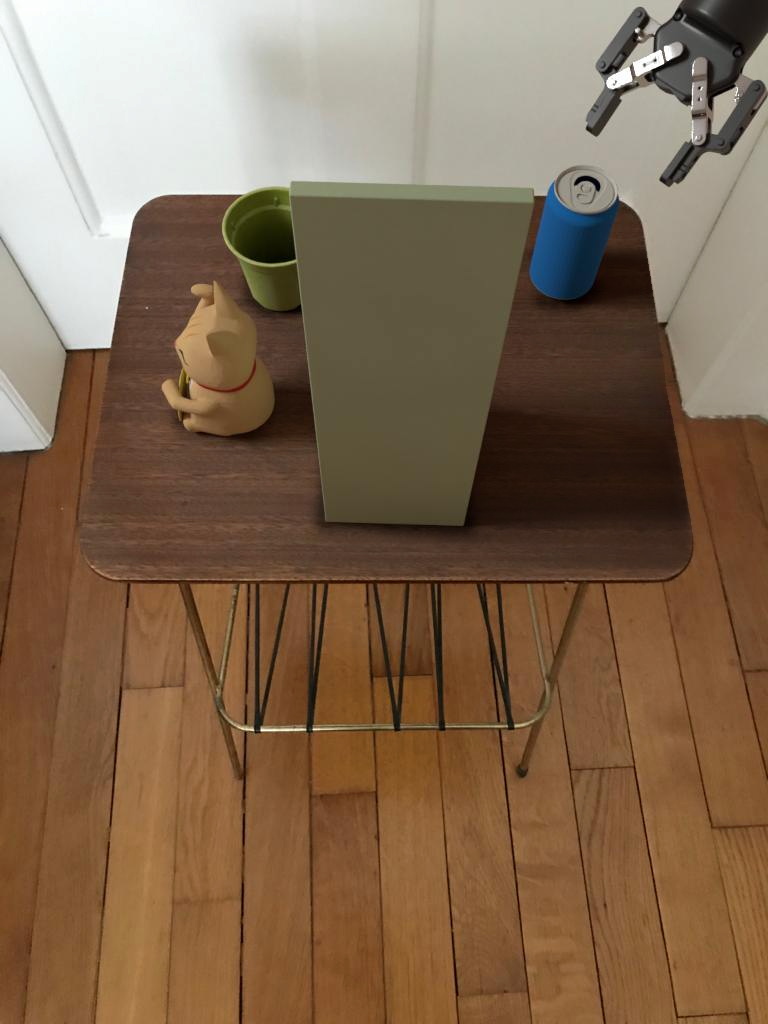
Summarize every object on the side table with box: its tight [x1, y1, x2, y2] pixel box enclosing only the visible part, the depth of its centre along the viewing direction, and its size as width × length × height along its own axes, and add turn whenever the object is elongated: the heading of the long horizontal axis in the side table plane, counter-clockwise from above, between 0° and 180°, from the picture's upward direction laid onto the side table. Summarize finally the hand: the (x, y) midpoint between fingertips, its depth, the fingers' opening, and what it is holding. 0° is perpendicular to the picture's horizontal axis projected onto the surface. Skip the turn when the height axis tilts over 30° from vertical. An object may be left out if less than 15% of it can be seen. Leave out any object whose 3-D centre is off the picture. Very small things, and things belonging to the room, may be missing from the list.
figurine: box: [161, 280, 276, 437], centre depth 76 cm, size 9×10×15 cm
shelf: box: [289, 180, 536, 527], centre depth 64 cm, size 12×12×38 cm
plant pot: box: [221, 185, 301, 312], centre depth 85 cm, size 9×9×9 cm
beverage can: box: [529, 164, 620, 301], centre depth 84 cm, size 6×6×12 cm
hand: (627, 158), depth 81 cm, fingers open, 8 cm apart
